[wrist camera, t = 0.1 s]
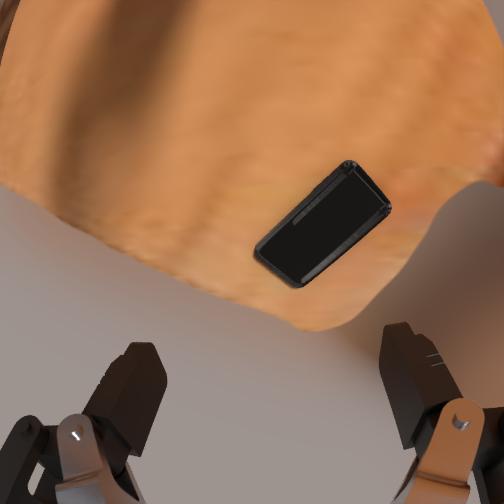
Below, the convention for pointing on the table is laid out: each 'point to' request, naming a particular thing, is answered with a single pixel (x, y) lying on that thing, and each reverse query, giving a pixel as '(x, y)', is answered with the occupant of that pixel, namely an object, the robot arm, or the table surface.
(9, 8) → the walnut bar
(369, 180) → the phone
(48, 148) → the table surface
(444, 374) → the robot arm
